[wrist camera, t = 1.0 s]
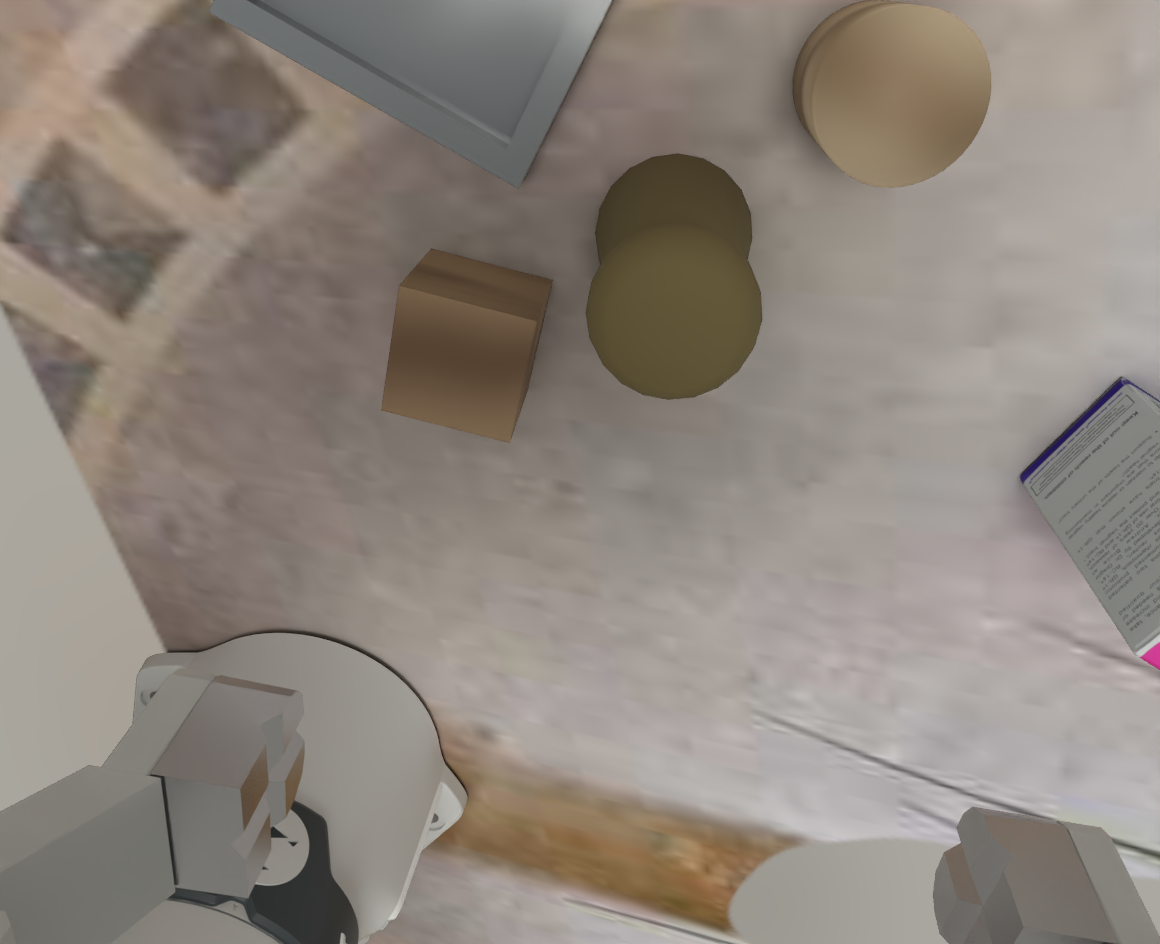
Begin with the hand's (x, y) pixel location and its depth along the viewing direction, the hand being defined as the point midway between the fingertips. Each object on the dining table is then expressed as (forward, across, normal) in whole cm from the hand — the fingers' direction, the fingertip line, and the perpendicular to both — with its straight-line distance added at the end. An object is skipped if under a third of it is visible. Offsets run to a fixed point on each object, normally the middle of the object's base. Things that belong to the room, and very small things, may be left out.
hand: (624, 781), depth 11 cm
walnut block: (+28, +7, +5) cm, 29 cm away
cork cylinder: (+28, -6, -6) cm, 29 cm away
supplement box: (+28, -20, +7) cm, 35 cm away
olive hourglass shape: (+28, 0, 0) cm, 28 cm away
